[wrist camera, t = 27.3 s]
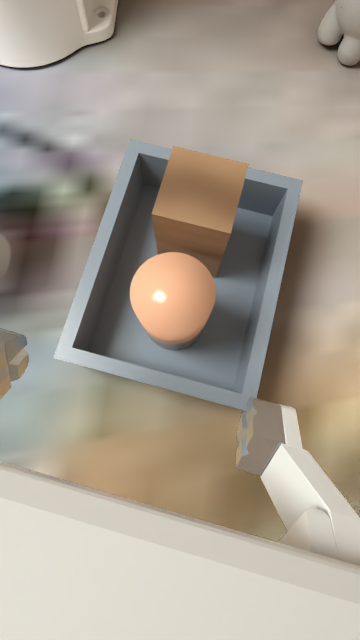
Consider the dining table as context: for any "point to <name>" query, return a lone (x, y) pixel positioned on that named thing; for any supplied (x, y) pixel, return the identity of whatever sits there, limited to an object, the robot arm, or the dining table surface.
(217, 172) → the walnut block
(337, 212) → the dining table surface
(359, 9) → the round bodied animal figurine
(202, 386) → the box
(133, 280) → the ball
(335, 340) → the dining table surface
